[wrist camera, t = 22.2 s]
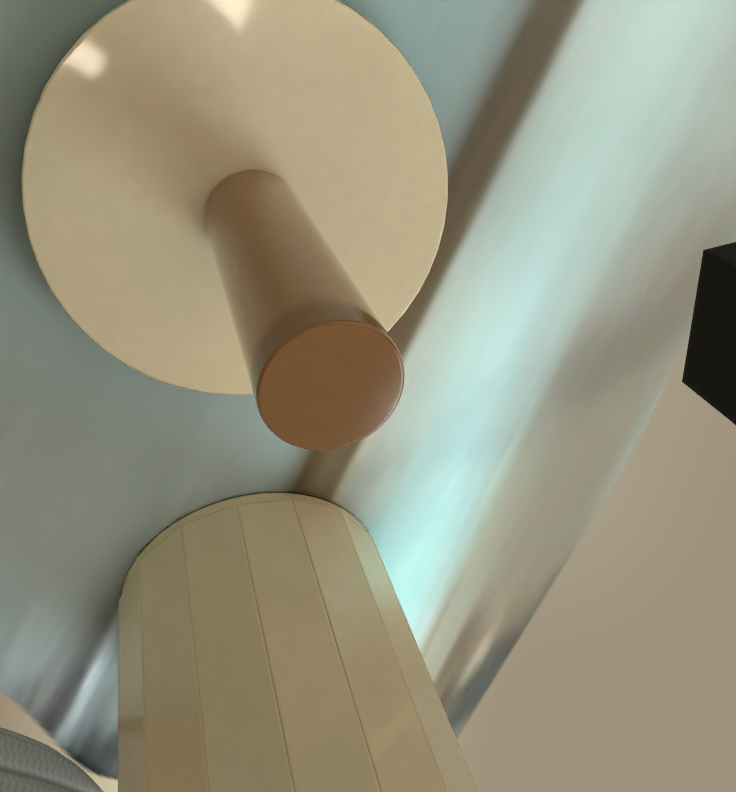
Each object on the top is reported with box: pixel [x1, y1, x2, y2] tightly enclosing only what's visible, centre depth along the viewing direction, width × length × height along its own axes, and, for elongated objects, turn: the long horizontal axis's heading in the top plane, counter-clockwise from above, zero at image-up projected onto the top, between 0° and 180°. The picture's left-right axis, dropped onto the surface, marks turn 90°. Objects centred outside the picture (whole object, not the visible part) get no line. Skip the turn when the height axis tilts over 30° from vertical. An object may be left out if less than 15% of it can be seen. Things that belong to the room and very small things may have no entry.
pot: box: [118, 493, 478, 792], centre depth 24 cm, size 10×10×12 cm
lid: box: [21, 0, 448, 450], centre depth 16 cm, size 11×11×10 cm
